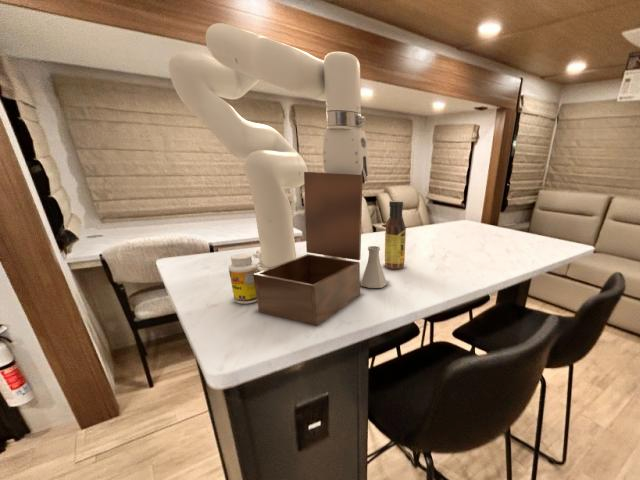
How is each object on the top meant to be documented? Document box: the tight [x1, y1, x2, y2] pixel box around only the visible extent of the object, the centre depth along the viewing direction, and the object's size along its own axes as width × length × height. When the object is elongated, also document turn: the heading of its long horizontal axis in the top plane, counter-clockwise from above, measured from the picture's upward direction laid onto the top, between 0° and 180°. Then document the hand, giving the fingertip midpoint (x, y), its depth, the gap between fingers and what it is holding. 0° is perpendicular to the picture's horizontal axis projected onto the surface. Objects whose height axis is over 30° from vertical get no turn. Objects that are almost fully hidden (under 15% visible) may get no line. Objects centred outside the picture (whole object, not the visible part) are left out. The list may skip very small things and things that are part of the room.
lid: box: [303, 171, 363, 261], centre depth 73 cm, size 18×15×5 cm
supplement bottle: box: [228, 253, 259, 305], centre depth 68 cm, size 6×6×10 cm
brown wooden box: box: [253, 253, 361, 326], centre depth 68 cm, size 18×15×8 cm
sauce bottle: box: [384, 200, 407, 270], centre depth 93 cm, size 6×6×20 cm
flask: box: [360, 245, 388, 289], centre depth 80 cm, size 7×7×10 cm
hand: (346, 208), depth 76 cm, fingers closed
